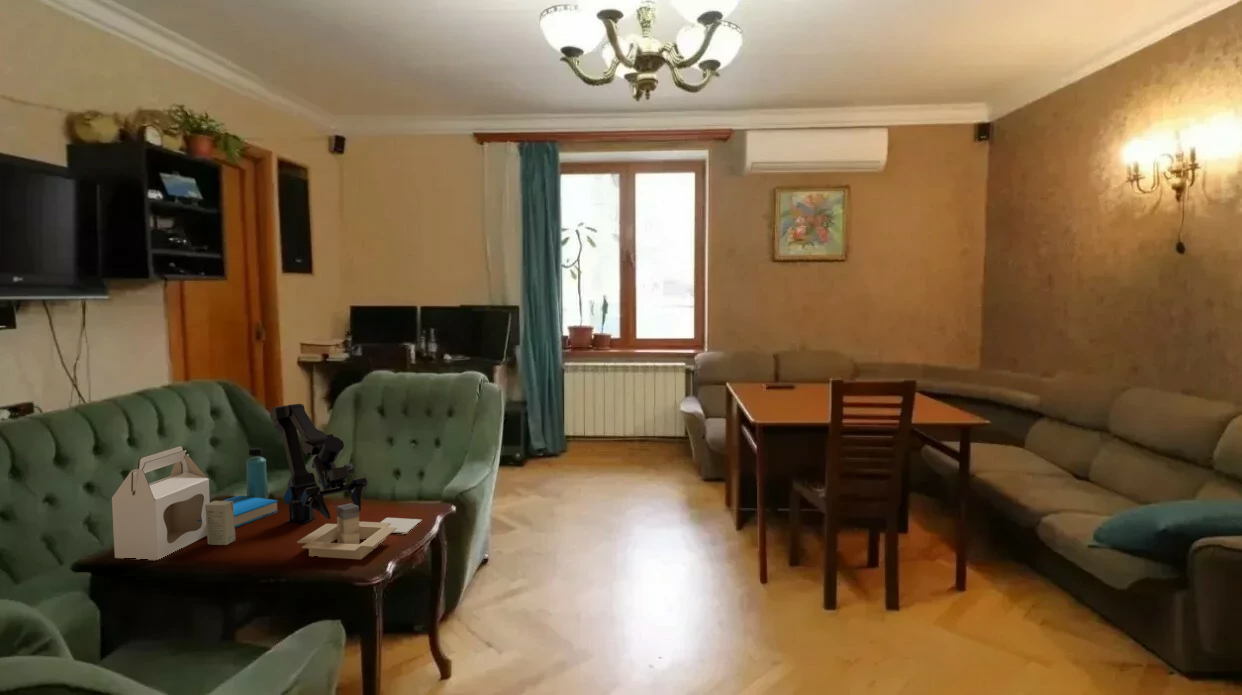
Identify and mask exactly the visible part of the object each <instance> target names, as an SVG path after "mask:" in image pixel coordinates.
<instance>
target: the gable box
mask: <svg viewBox="0 0 1242 695" xmlns="http://www.w3.org/2000/svg"><path fill="white" fill-rule="evenodd" d="M186 452H187V449H184V450H183V447H182V446H181V445H179V446H175V447H171V448H169V449H166V450H162V451H158V452H156V453H152V454H149V455H148V454H147V455H146V456H142V457H140V458H139V459H138V461H137V468H135V469H132V470H130V472H129V473H128V475H127V476H126V477H125V479H124V480H123V482H122V483H121V484H120V486H119V487H118V489H117V490H116V492H115V493H114V494H113V495H112V497H111V508H112V511H111V512H112V524H113V525H112V531H113V548H114V558H115V559H124V558H136V559H135V560H140V559H148V560H147V561H156V560H157V561H159V559H160V560H161V558H162V559H163V557H164V558H166V557H168V556H170V555H171V553H172V554H173V552H174V553H175V551H176V552H177V550H178V551H179V549H180V550H181V548H182V549H183V548H185V547H187V546H189V545H192V544H193V543H195V542H197V541H199V540H201V539H203V538H205V537H207V525H206V510H205V505H206V504H208V503H210V502H211V500H210V499H211V498H210V479H209V477H208V476H207V475H206V474H205V472H204V471H203V470H202V469H201V468H200V467H199V465H198V464H197V463H196V462H195V461H194V460H193V458H192V457H190V454H189V453H186ZM173 464H174V465H173ZM170 465H173V466H172V467H173V468H172V470H171V472H170V475H169V476H167V477H164V478H161V479H158V480H156V481H153V482H150V483H149V481H148V478H147V476H146V474H147V473H149V472H153V471H156V470H159V469H161V468H165V467H168V466H170ZM197 519H198V520H201V527H200V528H199V529H198V530H197V528H198V521H197ZM169 554H170V555H169ZM167 555H168V556H167ZM165 556H166V557H165Z"/></svg>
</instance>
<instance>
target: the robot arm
mask: <svg viewBox="0 0 1242 695" xmlns="http://www.w3.org/2000/svg"><path fill="white" fill-rule="evenodd" d="M269 418H270V420H271V422H272V424H273V427H274V429H275V430H277V431H278V432H279V433H280V435H281V438H282V442H283V446H284V451H285V455H286V460H287V464H288V467H289V471H290V472H289V473H290V477H289V480H288V482H287V489H286V491H285V493H284V495H283V500H284V501H283V502H284V504H286V505H288V512H289V514H288V515H289V516H288V518H289V519H287V520H286V523H288V524H301V525H302V524H306V523H309V522H310V521H312V520H313V519H315V518H316V515H314V514H315V511H317V512H318V513H319V514H321V515H322V516H323V517H325V518H326V519H327V520H330V519H331V515H330V512H329V509H328V506H327V505H326V502H325V500H324V497H326V496H330V495H331V496H332V495H335V494H341V493H344V492H349V495H351V496H350V499H351V501H352V503H353V504H355V505H357V506H359V513H361V512H362V511H361V510H362V504H361V502H362V494H363V493H364V492H365V491H366V489H367V487H368V486H369V480H368V479H367V478H366V477H364V476H362V477H361V476H360V477H356V478H352V481H351V482H350V483H348V484H346V483H347V478H350V476H351V475H353V474H355V468H354V465H353V463H352V462H351V463H350V462H349V463H346V464H344V466H340V467H337V465H336V461H337V460H338V459H339V457H340V455H341V453H342V451H343V449H344V447H345V443H344V441H343V440H342V439H340V438H339V437H336V436H334V434H333V433H331V434H326V433H325V432H324V431H322V430H320V429H318V428H317V427H316V426H315V424H314V423H313V421H312V419H311V418H310V416H309V415H308V414H307V412H306V410H305V406H304V404H303V403H302V404H301V403H294V404H292V403H291V404H287V405H286V404H285V405H278V406H273V409H271V410H270V412H269ZM299 435H300V437H301V438H302V442H301V443H302V444H301V443H300V437H299ZM303 453H304V454H305V455H306V456H307V457H313V456H315V457H314V458H313V460H312V463H311V468H312V469H315V472H316V474H317V476H318V480H317V481H318V484H320V485H321V487H322V489H321V487H320V486H318V484H317V481H316V479H315V474H314V473H313V472H310V471H308V469H307V467H306V463H305V458H304V454H303ZM314 510H315V511H314Z"/></svg>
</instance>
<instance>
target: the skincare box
mask: <svg viewBox="0 0 1242 695" xmlns="http://www.w3.org/2000/svg"><path fill="white" fill-rule="evenodd" d="M205 510H206V525H207V536H206V537H207V545H209V544H210V545H209V546H212V545H214V546H216V545H217V546H227V545H229V544H231V543H233V542H235V541H236V527H235V524H234V508H233V501H224V500H213V501H210V503H208V504H206V505H205Z"/></svg>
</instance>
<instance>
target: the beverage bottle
mask: <svg viewBox="0 0 1242 695" xmlns="http://www.w3.org/2000/svg"><path fill="white" fill-rule="evenodd" d="M262 454H263V448H262V447H252V448H249V449H248V455H249V456H251V457H249V458H248V459H247V460H246V461H245V465H246V496H249V497H256V498H263V499H269V498H268V497H269V492H268V485H269V484H268V476H267V475H268V474H267V459H266V458H265V457H263V456H260V455H262ZM252 456H253V457H252Z"/></svg>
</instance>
